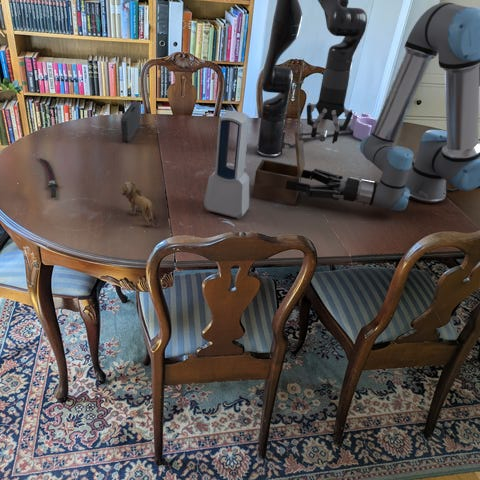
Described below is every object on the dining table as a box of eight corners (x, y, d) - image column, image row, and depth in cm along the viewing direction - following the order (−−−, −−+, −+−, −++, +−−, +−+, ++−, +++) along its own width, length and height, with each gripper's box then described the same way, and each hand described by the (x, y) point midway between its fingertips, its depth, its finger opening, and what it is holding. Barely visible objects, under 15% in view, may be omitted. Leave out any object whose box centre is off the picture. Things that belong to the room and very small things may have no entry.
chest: (252, 197, 153) (255, 170, 148) (259, 184, 161) (262, 159, 156) (294, 205, 151) (299, 178, 146) (298, 192, 159) (303, 166, 154)
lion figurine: (118, 210, 138) (116, 182, 133) (132, 204, 141) (131, 177, 137) (151, 229, 130) (150, 201, 126) (165, 223, 134) (165, 195, 129)
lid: (294, 132, 138) (324, 130, 136) (299, 122, 147) (327, 120, 144) (298, 177, 146) (326, 176, 143) (302, 165, 154) (329, 164, 151)
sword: (61, 197, 141) (61, 193, 140) (50, 198, 139) (50, 194, 139) (49, 160, 164) (48, 156, 163) (39, 160, 163) (39, 157, 162)
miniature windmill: (298, 130, 211) (309, 61, 195) (279, 127, 212) (289, 59, 196) (300, 124, 219) (311, 57, 203) (282, 121, 220) (292, 55, 204)
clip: (343, 126, 223) (346, 112, 219) (367, 127, 225) (371, 113, 221) (360, 142, 206) (364, 127, 202) (386, 142, 209) (390, 127, 205)
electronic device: (248, 210, 145) (259, 115, 129) (241, 221, 139) (251, 123, 123) (211, 201, 148) (218, 107, 132) (202, 211, 142) (207, 114, 125)
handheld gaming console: (134, 123, 200) (133, 100, 195) (140, 124, 200) (140, 100, 195) (121, 142, 181) (119, 117, 175) (128, 143, 181) (127, 118, 175)
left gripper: (308, 83, 132) (298, 140, 141) (359, 91, 129) (346, 149, 138) (311, 77, 138) (302, 132, 147) (360, 85, 135) (347, 140, 145)
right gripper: (353, 217, 141) (281, 203, 144) (356, 186, 160) (292, 174, 163) (359, 195, 137) (284, 181, 140) (361, 166, 155) (295, 154, 159)
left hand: (323, 140), depth 143 cm, fingers open, 5 cm apart
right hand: (288, 177), depth 152 cm, fingers closed on chest, 10 cm apart
